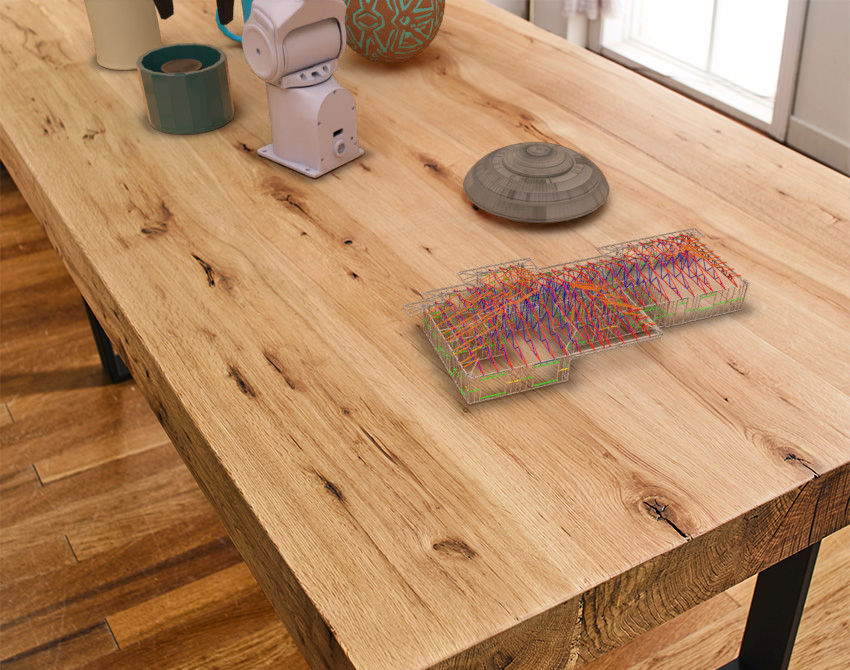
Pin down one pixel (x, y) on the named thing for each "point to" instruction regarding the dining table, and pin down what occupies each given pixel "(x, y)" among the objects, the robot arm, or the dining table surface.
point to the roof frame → (567, 305)
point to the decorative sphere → (392, 27)
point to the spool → (181, 66)
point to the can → (123, 31)
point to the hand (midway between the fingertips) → (197, 19)
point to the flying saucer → (536, 183)
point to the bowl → (186, 89)
